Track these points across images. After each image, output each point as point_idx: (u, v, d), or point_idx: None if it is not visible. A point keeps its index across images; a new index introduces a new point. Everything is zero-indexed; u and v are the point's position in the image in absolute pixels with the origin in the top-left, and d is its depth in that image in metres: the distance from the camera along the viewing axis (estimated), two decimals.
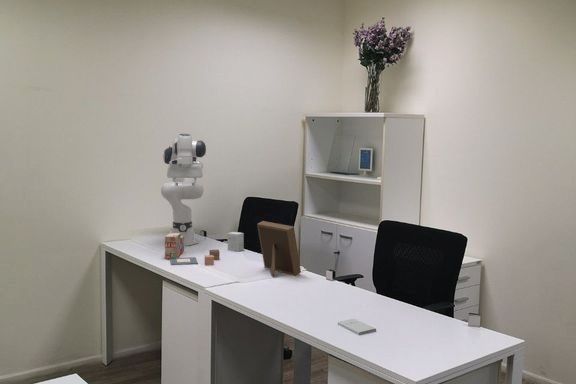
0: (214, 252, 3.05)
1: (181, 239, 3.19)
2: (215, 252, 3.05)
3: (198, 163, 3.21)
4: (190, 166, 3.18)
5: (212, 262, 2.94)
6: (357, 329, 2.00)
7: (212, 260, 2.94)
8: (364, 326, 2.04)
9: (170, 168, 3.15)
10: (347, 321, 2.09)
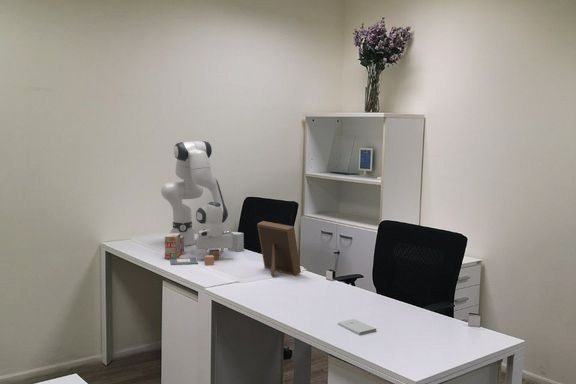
0: (214, 252, 3.05)
1: (181, 239, 3.19)
2: (215, 252, 3.05)
3: (228, 233, 3.08)
4: (220, 237, 3.05)
5: (212, 262, 2.94)
6: (358, 329, 2.00)
7: (212, 260, 2.94)
8: (364, 326, 2.04)
9: (199, 240, 3.02)
10: (347, 321, 2.08)
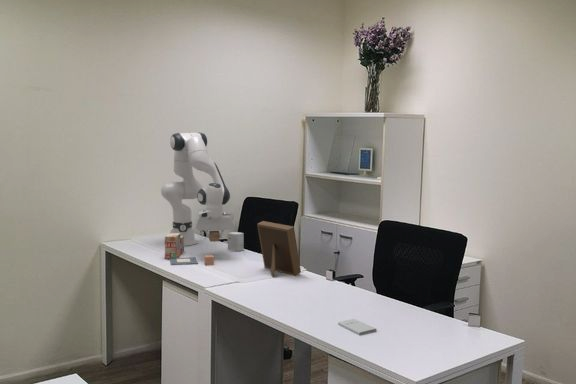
0: (214, 233, 3.04)
1: (181, 239, 3.19)
2: (215, 233, 3.04)
3: (228, 214, 3.07)
4: (220, 218, 3.04)
5: (212, 262, 2.94)
6: (358, 329, 2.00)
7: (212, 260, 2.94)
8: (364, 326, 2.04)
9: (200, 221, 3.01)
10: (347, 321, 2.08)
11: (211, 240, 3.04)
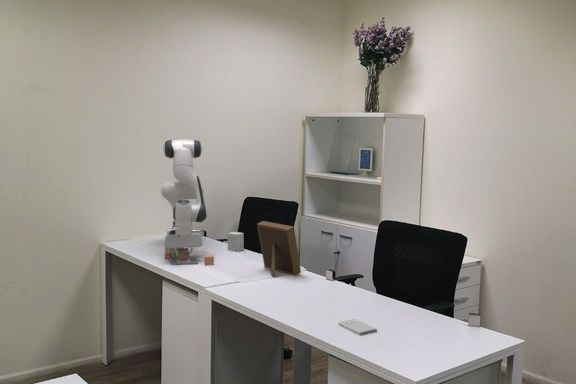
0: (183, 251, 2.98)
1: None
2: (184, 251, 2.98)
3: (198, 231, 3.00)
4: (189, 235, 2.98)
5: (212, 262, 2.94)
6: (358, 329, 2.00)
7: (212, 260, 2.94)
8: (365, 326, 2.03)
9: (168, 238, 2.95)
10: (348, 321, 2.08)
11: (180, 258, 2.98)
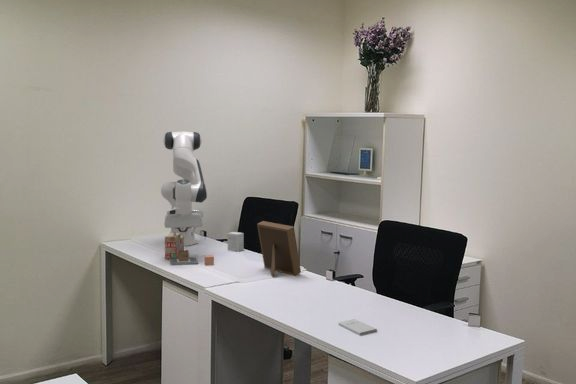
0: (183, 253, 2.98)
1: (181, 239, 3.19)
2: (184, 253, 2.98)
3: (198, 211, 2.99)
4: (189, 215, 2.97)
5: (212, 262, 2.94)
6: (358, 329, 2.00)
7: (212, 260, 2.94)
8: (365, 326, 2.03)
9: (168, 218, 2.94)
10: (348, 321, 2.08)
11: (180, 260, 2.98)
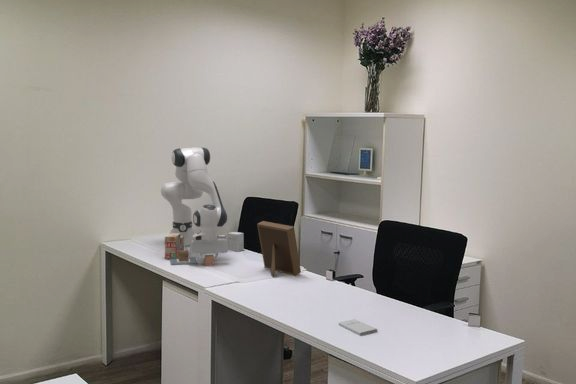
0: (183, 253, 2.98)
1: (181, 239, 3.19)
2: (184, 253, 2.98)
3: (223, 237, 2.96)
4: (215, 241, 2.94)
5: (212, 262, 2.94)
6: (359, 329, 2.00)
7: (212, 260, 2.94)
8: (365, 326, 2.03)
9: (194, 244, 2.91)
10: (348, 322, 2.08)
11: (180, 260, 2.98)
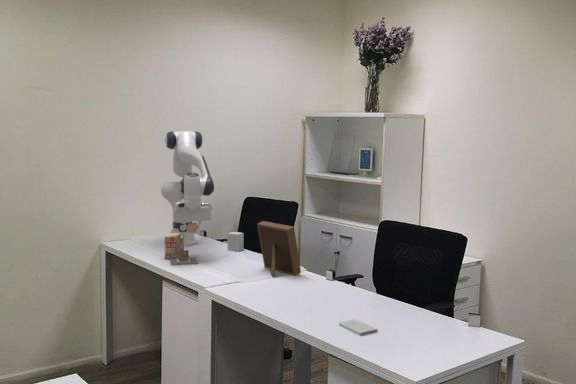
0: (183, 253, 2.98)
1: (181, 239, 3.19)
2: (184, 253, 2.98)
3: (206, 205, 2.98)
4: (198, 208, 2.95)
5: (195, 229, 2.96)
6: (359, 330, 1.99)
7: (195, 227, 2.96)
8: (365, 326, 2.03)
9: (176, 211, 2.92)
10: (348, 322, 2.08)
11: (180, 260, 2.98)
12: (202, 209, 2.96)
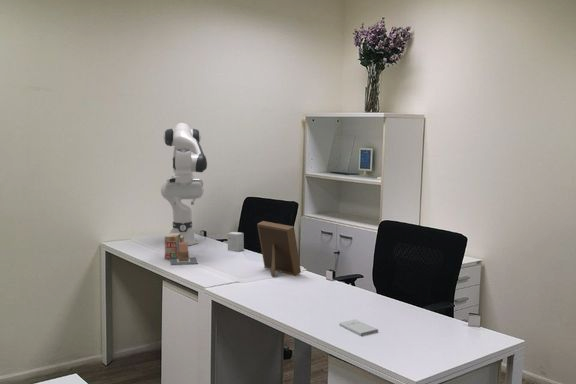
0: (183, 253, 2.98)
1: (181, 239, 3.19)
2: (184, 253, 2.98)
3: (198, 180, 2.97)
4: (189, 184, 2.95)
5: (186, 249, 2.98)
6: (359, 330, 1.99)
7: (186, 247, 2.98)
8: (366, 326, 2.03)
9: (168, 187, 2.92)
10: (349, 322, 2.08)
11: (180, 260, 2.98)
12: (193, 185, 2.96)
